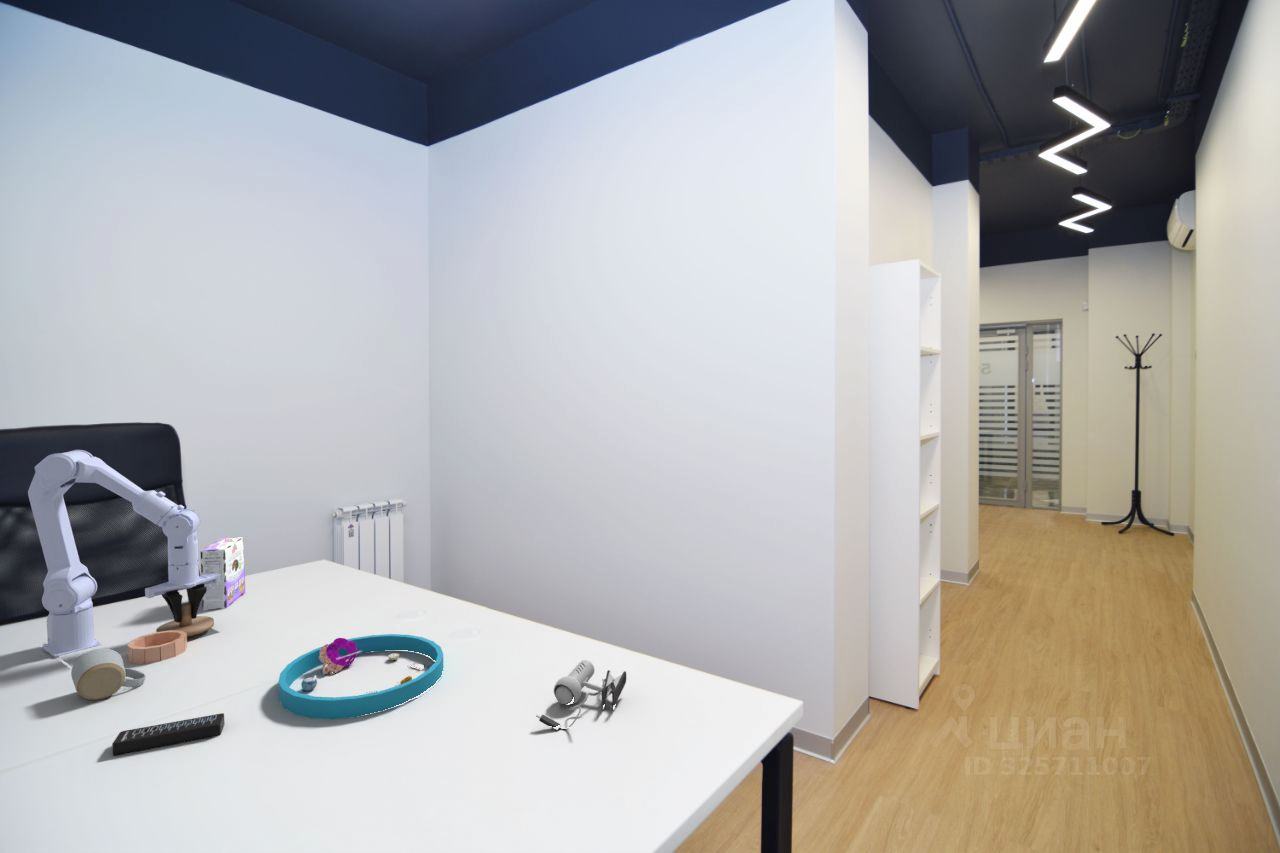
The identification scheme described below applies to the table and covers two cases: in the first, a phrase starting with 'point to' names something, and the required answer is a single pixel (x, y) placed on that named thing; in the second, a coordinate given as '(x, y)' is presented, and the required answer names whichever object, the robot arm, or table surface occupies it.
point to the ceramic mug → (103, 674)
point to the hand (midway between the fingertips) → (185, 619)
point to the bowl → (157, 646)
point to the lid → (188, 622)
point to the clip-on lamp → (575, 683)
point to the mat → (202, 634)
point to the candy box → (223, 572)
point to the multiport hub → (168, 734)
